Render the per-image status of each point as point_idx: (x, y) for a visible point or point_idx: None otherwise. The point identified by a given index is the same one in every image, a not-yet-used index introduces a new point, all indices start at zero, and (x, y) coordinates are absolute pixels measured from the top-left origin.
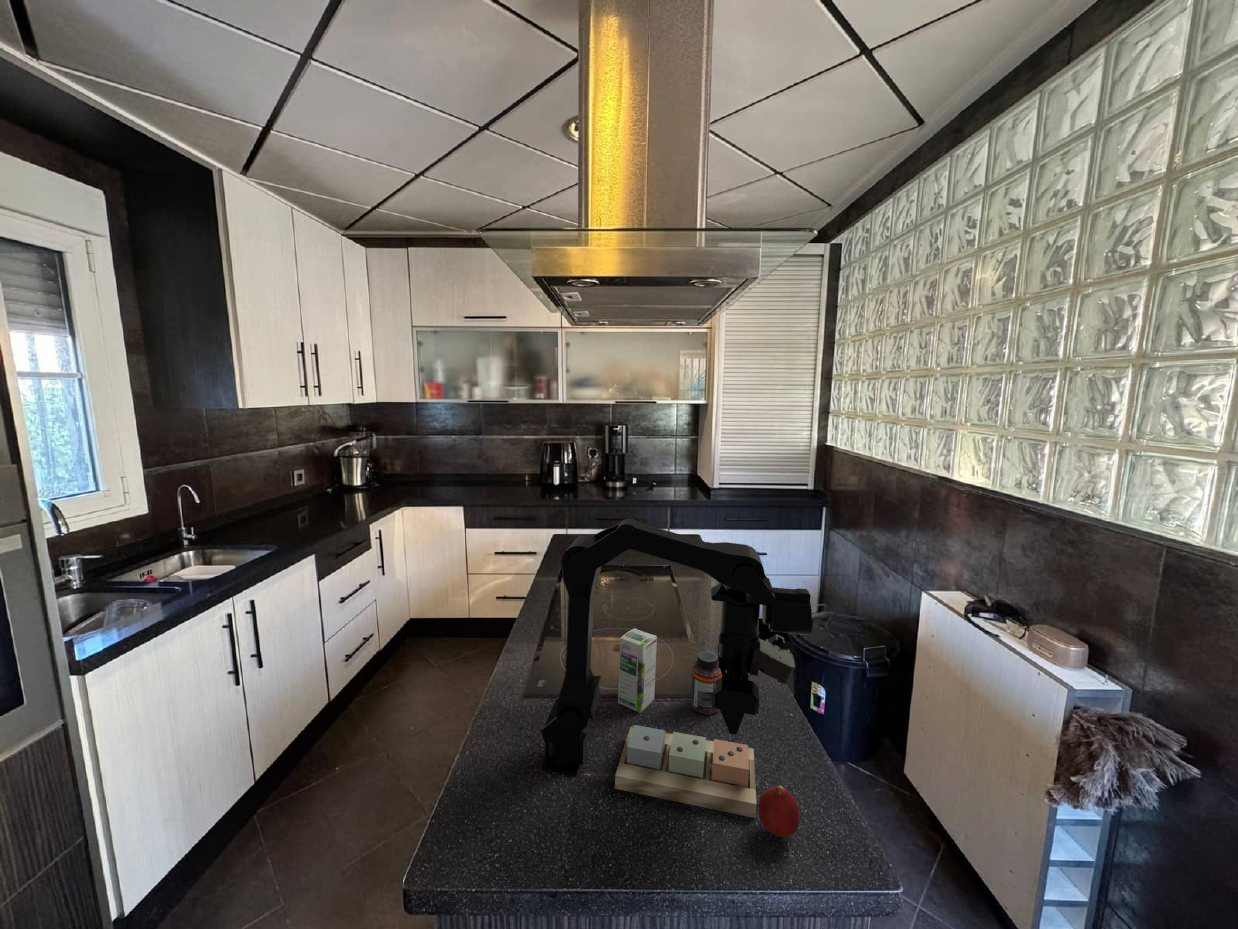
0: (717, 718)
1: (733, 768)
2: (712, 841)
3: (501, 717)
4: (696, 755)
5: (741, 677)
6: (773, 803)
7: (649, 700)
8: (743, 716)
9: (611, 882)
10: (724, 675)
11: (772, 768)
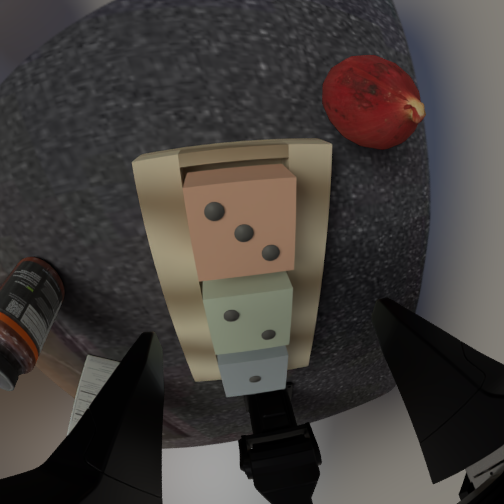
0: (53, 253)
1: (295, 218)
2: (375, 213)
3: (228, 436)
4: (278, 305)
5: (116, 462)
6: (416, 126)
7: (102, 364)
8: (482, 354)
9: (415, 304)
10: (156, 480)
11: (147, 104)
